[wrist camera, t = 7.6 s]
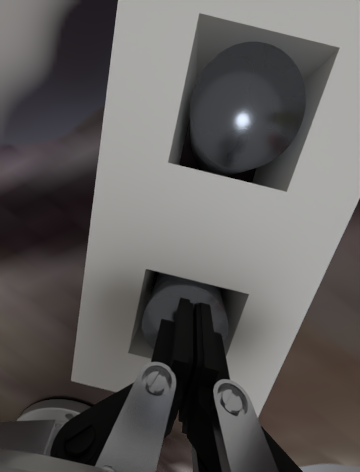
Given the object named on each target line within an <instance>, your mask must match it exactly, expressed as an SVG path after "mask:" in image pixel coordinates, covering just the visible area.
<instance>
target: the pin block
mask: <svg viewBox="0 0 360 472" xmlns="http://www.w3.org/2000/svg"><path fill="white" fill-rule="evenodd" d="M244 42H263V43H267V44H270V45H273V46H275V47H277V48H279V49H281V50H282V51H284V52H285V53H286V54H287V55H288V56H289V57H290V58H291V59H292V60H293V61H294V63H295V64H296V65H297V67H298V69H299V71H300V73H301V76H302V78H303V81H304V86H305V93H306V106H305V113H304V117H303V121H302V124H301V126H300V129H299V131H298V133H297V135H296V137H295V138H294V140H293V141H292V143H291V144H290V145H289V147H288V148H287V149H286V150H285V151H284V152H283V153H282V154H281V155H279V156H278V157H277V158H275V159H274V160H273V161H271V162H269V163H267V164H265V165H263V166H260V167H257V168H256V171H255V175H254V178H253V181H252V183H249V182H245V181H241V180H237V179H233V178H229V177H225V176H220V175H216V174H212V173H208V172H204V171H200V170H196V169H192V168H188V167H184V166H180V165H179V163H180V159H181V154H182V150H183V146H184V141H185V137H186V132H187V128H188V123H189V119H190V103H191V97H192V93H193V90H194V87H195V84H196V82H197V80H198V78H199V76H200V74H201V72H202V71H203V70H204V68H205V67H206V66H207V64H208V63H209V62H210V61H211V60H212V59H213V58H214V57H215V56H217V55H218V54H219V53H221V52H222V51H224V50H225V49H227V48H229V47H231V46H233V45H237V44H240V43H244ZM359 198H360V0H118V7H117V15H116V23H115V30H114V38H113V46H112V55H111V63H110V71H109V79H108V87H107V95H106V103H105V111H104V119H103V127H102V135H101V143H100V151H99V159H98V167H97V175H96V183H95V191H94V199H93V207H92V215H91V223H90V231H89V240H88V248H87V256H86V264H85V272H84V280H83V288H82V296H81V304H80V312H79V320H78V328H77V336H76V344H75V352H74V360H73V368H72V376H71V381H73V382H77V383H81V384H85V385H89V386H93V387H98V388H102V389H106V390H110V391H114V392H118V391H120V390H121V389H123V388H125V387H127V386H128V385H130V384H132V383H134V382H135V380H136V378H137V375H138V373H139V371H140V370H141V369H142V367H143V366H145V365H146V364H148V363H151V359H152V355H153V351H154V349H152V347H151V346H150V345H149V344H148V342H147V341H146V339H145V336H144V334H143V330H142V318H143V314H144V311H145V308H146V306H147V303H148V301H149V297H150V293H151V288H152V284H153V279H154V275H155V271H157V272H161V273H165V274H169V275H173V276H177V277H181V278H185V279H190V280H194V281H198V282H202V283H206V284H210V285H214V286H218V287H219V289H220V293H221V296H222V300H223V304H224V307H225V311H226V315H227V319H228V326H229V329H228V335H227V338H226V340H225V342H224V350H225V355H226V360H227V365H228V371H229V376H230V380H232V381H234V382H236V383H237V384H239V385H240V386H241V387H242V388H243V389H244V390H245V391H246V393H247V394H248V396H249V398H250V400H251V402H252V405H253V407H254V410H255V412H256V415H257V418H258V416H259V414H260V412H261V410H262V407H263V405H264V403H265V401H266V399H267V397H268V395H269V392H270V390H271V388H272V386H273V384H274V382H275V379H276V377H277V375H278V373H279V371H280V369H281V367H282V364H283V362H284V360H285V358H286V356H287V354H288V351H289V349H290V347H291V345H292V343H293V341H294V338H295V336H296V334H297V332H298V330H299V328H300V326H301V323H302V321H303V319H304V317H305V315H306V313H307V310H308V308H309V306H310V304H311V302H312V300H313V297H314V295H315V293H316V291H317V289H318V287H319V285H320V282H321V280H322V278H323V276H324V274H325V272H326V269H327V267H328V265H329V263H330V261H331V259H332V257H333V254H334V252H335V250H336V248H337V246H338V244H339V241H340V239H341V237H342V235H343V233H344V231H345V228H346V226H347V224H348V222H349V220H350V218H351V216H352V213H353V211H354V209H355V207H356V205H357V203H358V200H359Z"/></svg>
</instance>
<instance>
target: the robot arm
mask: <svg viewBox="0 0 360 472" xmlns="http://www.w3.org/2000/svg"><path fill="white" fill-rule="evenodd" d="M178 410H179V421H180V422H183V427H182V433H184V434H187V438H188V439H189V441H190V442H191V444H192V463H193V472H303V471H302V470H301V469H300V468H299V467H298V466H297V465H296V464H295V463H294V462H293V460H292V459H291V458H290V457H289V456H288V455H287V454H286V453H285V452H284V451H283V449H282V448H281V447H280V446H279V445H278V444H277V443H276V442H275V441H274V440H273V439H272V437H271V436H270V435H269V434H268V433H267V432H266V431H265V430H264V429H263V428H262V426H261V425H260V423H259V420H258V418H257V415H256V412H255V410H254V407H253V405H252V402H251V400H250V398H249V396H248V394H247V393H246V391H245V390H244V389H243V388H242V387H241V386H240V385H239V384H237V383H236V382H234V381H232V380H230V376H229V371H228V365H227V360H226V355H225V350H224V344H223V339H222V335H221V333H217V332H214V328H213V321H212V314H211V307H210V305H209V304H205V303H201V302H200V303H199V305H198V304H196V305H195V308H194V311H193V303H190V300H189V299H185V298H181V297H180V300H179V304H178V308H177V311H176V315H175V319H174V322H173V321H169V320H165V319H161V323H160V327H159V331H158V335H157V339H156V343H155V347H154V351H153V355H152V359H151V363H148V364H146V365H145V366H143V367H142V369H141V370H140V371H139V373H138V375H137V378H136V380H135V382H134V383H132V384H130V385H128V386H127V387H125V388H123V389H121V390H120V391H118V392H116V393H114V394H113V395H111V396H109V397H107V398H106V399H104V400H102V401H101V402H99V403H97V404H95V405H94V406H92V407H90V406H88V405H86V404H83V403H80V402H76V401H72V400H65V399H51V400H45V401H41V402H38V403H36V404H33V405H31V406H30V407H28V408H27V409H25V411H24V412H23V413H22V414H21V415H20V416H19V418H18V419H17V420H16V421H3V422H0V472H155V471H156V467H157V463H158V458H159V454H160V450H161V446H162V442H163V439H164V438H165V437H166V436H167V435H169V434H170V433H171V430H172V427H173V424H174V420H175V419H176V416H177V413H178Z"/></svg>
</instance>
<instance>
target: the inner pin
mask: <svg viewBox="0 0 360 472" xmlns="http://www.w3.org/2000/svg"><path fill="white" fill-rule="evenodd" d="M180 297H181V298H185V299H189V300H190V303H193V311H194V308H195V305H196V304H198V305H199V303H200V302H201V303H205V304H209V305H210V307H211V314H212V321H213V328H214V332H217V333H221V335H222V339H223V344H224V342H225V340H226V338H227V335H228V329H229V326H228V319H227V315H226V311H225V307H224V304H223V300H222V296H221V293H220V289H219V287H218V286H214V285H210V284H206V283H202V282H198V281H194V280H190V279H185V278H181V277H177V276H173V275H169V274H165V273H161V272H159V275H158V277H157V280H156V282H155V285H154V288H153V290H152V293H151V295H150V298H149V301H148V303H147V306H146V308H145V311H144V314H143V318H142V330H143V334H144V336H145V339H146V341H147V342H148V344H149V345H150V346H151V347H152V349H154V347H155V343H156V339H157V335H158V331H159V327H160V323H161V319H165V320H169V321H173V322H174V319H175V315H176V311H177V308H178V304H179V300H180Z"/></svg>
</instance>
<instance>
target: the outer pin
mask: <svg viewBox="0 0 360 472" xmlns="http://www.w3.org/2000/svg"><path fill="white" fill-rule="evenodd" d="M305 106H306V93H305V86H304V81H303V78H302V76H301V73H300V71H299V69H298V67H297V65H296V64H295V63H294V61H293V60H292V59H291V58H290V57H289V56H288V55H287V54H286V53H285V52H284V51H282V50H281V49H279V48H277V47H275V46H273V45H270V44H267V43H263V42H244V43H240V44H237V45H233V46H231V47H229V48H227V49H225V50H224V51H222V52H221V53H219V54H218V55H217V56H215V57H214V58H213V59H212V60H211V61H210V62H209V63H208V64H207V66H206V67H205V68H204V70H203V71H202V72H201V74H200V76H199V78H198V80H197V82H196V84H195V87H194V90H193V93H192V97H191V103H190V136H191V149H192V153H193V156H194V158H195V160H196V162H197V163H198V165H199V166H200V167H201V168H202V169H203V170H205V171H206V172H208V173H212V174H216V175H220V176H231V175H235V174H238V173H241V172H244V171H248V170H251V169H254V168H257V167H260V166H263V165H265V164H267V163H269V162H271V161H273V160H274V159H275V158H277V157H278V156H279V155H281V154H282V153H283V152H284V151H285V150H286V149H287V148H288V147H289V145H290V144H291V143H292V141H293V140H294V138H295V137H296V135H297V133H298V131H299V129H300V126H301V124H302V121H303V117H304V113H305Z"/></svg>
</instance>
